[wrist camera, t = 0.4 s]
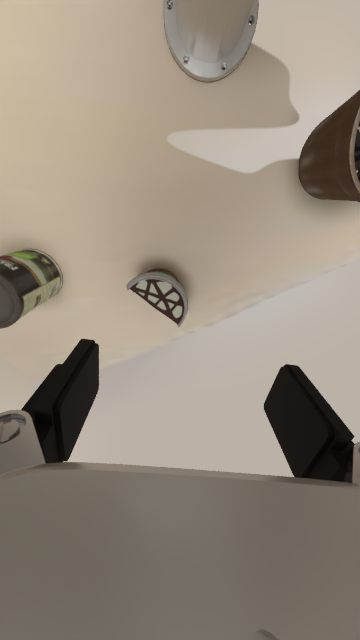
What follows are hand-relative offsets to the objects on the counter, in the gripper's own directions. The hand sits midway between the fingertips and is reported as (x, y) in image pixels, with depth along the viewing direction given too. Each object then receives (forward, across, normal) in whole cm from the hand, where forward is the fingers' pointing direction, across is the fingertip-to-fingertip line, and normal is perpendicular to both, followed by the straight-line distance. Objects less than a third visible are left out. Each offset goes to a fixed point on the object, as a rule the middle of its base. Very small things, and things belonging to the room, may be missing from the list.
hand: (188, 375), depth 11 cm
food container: (+37, +2, +6) cm, 37 cm away
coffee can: (+37, +28, +9) cm, 47 cm away
